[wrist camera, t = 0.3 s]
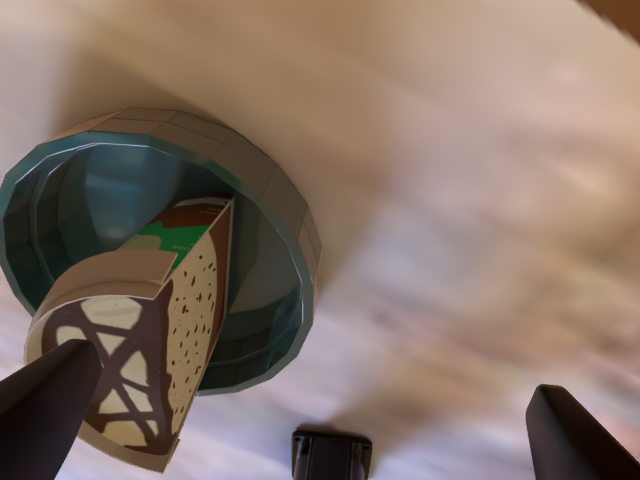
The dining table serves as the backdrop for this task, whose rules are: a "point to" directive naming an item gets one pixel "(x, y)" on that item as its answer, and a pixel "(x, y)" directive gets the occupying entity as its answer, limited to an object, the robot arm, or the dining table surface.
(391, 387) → the dining table surface
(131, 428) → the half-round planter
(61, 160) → the bowl
